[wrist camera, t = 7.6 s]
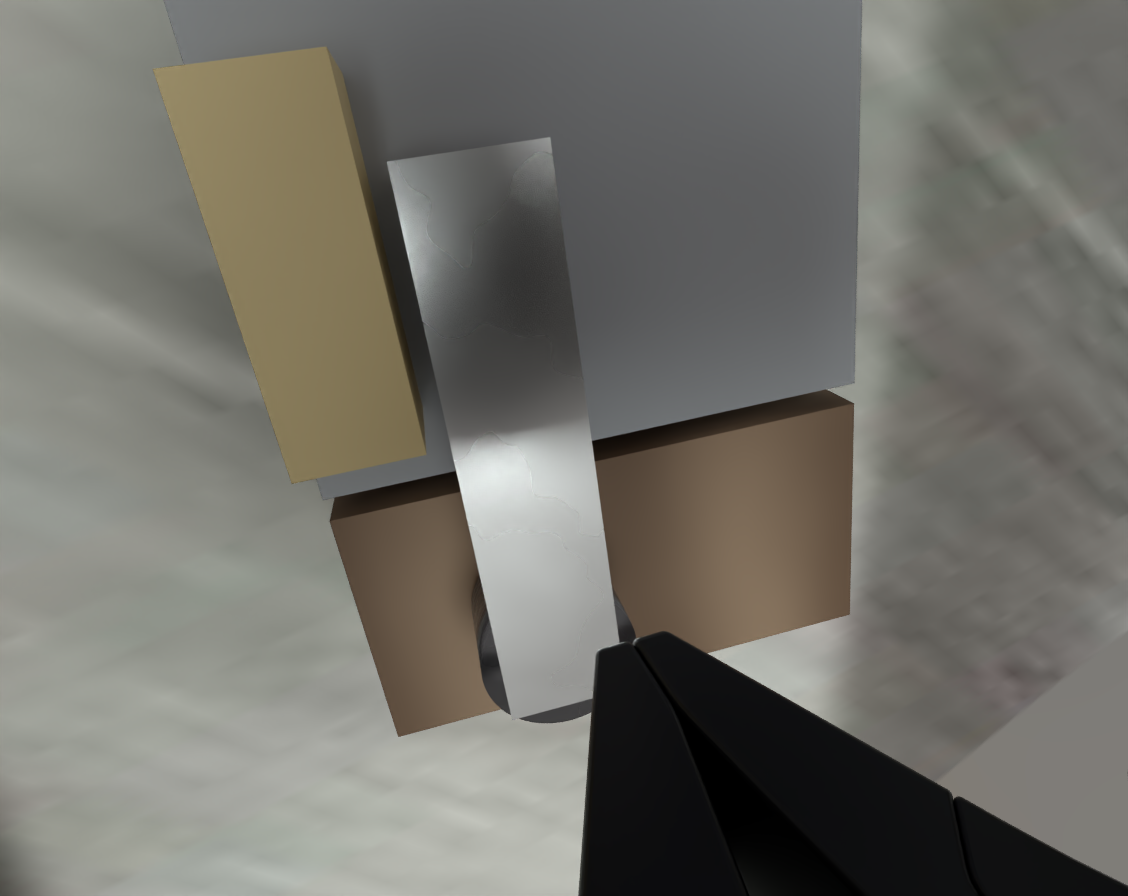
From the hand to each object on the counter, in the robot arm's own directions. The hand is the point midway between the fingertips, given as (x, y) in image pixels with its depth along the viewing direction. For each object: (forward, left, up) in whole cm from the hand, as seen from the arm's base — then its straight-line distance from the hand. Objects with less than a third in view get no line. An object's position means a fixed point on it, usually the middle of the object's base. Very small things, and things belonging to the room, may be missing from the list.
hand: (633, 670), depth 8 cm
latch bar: (0, 0, -7) cm, 7 cm away
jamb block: (+2, -4, -11) cm, 12 cm away
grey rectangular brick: (+2, +6, -11) cm, 13 cm away
